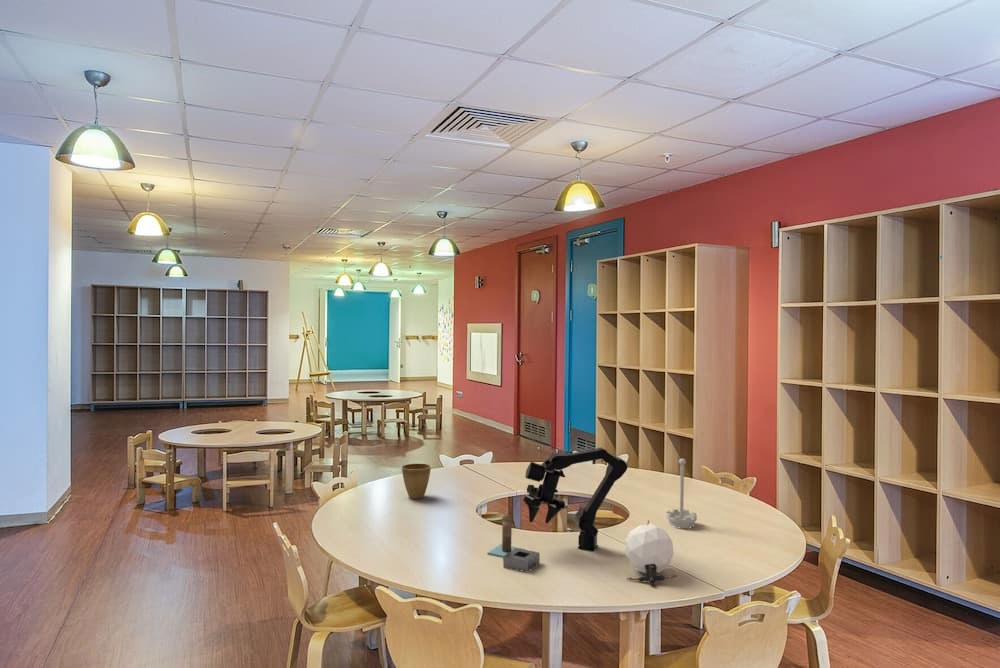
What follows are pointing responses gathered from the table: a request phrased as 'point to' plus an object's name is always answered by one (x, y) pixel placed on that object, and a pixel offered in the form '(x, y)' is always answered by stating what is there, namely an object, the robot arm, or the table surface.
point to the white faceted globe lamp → (649, 552)
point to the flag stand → (681, 507)
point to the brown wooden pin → (506, 532)
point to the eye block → (521, 559)
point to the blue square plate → (500, 551)
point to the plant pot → (416, 479)
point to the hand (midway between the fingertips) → (538, 522)
